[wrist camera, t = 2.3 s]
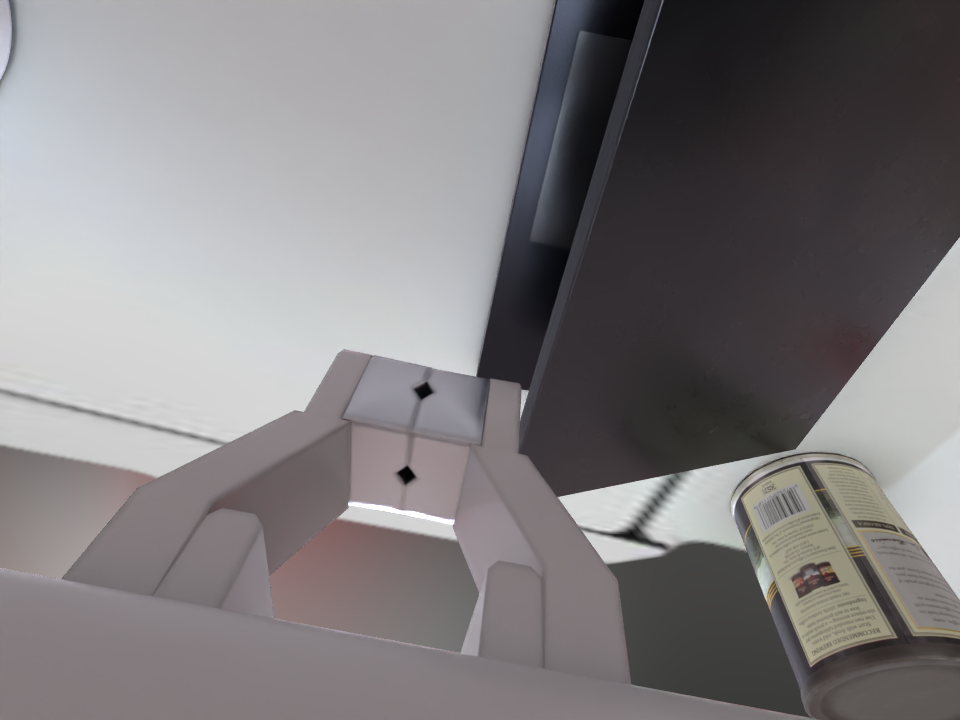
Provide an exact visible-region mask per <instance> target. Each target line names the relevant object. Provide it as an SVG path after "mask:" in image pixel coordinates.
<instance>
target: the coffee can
mask: <svg viewBox="0 0 960 720" xmlns="http://www.w3.org/2000/svg"><path fill="white" fill-rule="evenodd" d="M731 513H732V516H733V519H734V521H735V522H736V524H737V526H738V529H739V532H740V534H741V536H742V539H743V542H744V544H745V547H746V549H747V552H748V554H749V557H750V560H751V562H752V565H753V568H754V570H755V573H756V576H757V578H758V581H759V583H760V586H761V588H762V591H763V593H764V596H765V598H766V601H767V603H768V606H769V609H770V611H771V614H772V617H773V619H774V622H775V625H776V627H777V630H778V633H779V635H780V638H781V640H782V643H783V646H784V649H785V651H786V654H787V656H788V658H789V661H790V664H791V666H792V669H793V671H794V674H795V677H796V679H797V682H798V684H799V687H800V690H801V698H802V702H803V705H804V707H805V710H806V712H807V714H808V715H809V716H810V717H811V718H812V719H818V720H960V600H959V599H958V597H957V596H956V594H955V593H954V592H953V590H952V589H951V587H950V586H949V584H948V583H947V582H946V580H945V579H944V577H943V576H942V575H941V573H940V572H939V570H938V569H937V567H936V566H935V565H934V563H933V562H932V560H931V559H930V558H929V556H928V555H927V553H926V552H925V551H924V549H923V548H922V546H921V545H920V544H919V542H918V541H917V539H916V538H915V536H914V535H913V534H912V532H911V531H910V529H909V528H908V527H907V525H906V524H905V522H904V521H903V519H902V518H901V517H900V515H899V514H898V512H897V511H896V510H895V508H894V507H893V505H892V504H891V503H890V501H889V500H888V498H887V497H886V495H885V494H884V493H883V491H882V490H881V488H880V487H879V486H878V484H877V483H876V481H875V478H874V477H873V475H872V473H871V472H870V471H869V470H868V469H867V468H866V467H865V466H864V465H862V464H861V463H859V462H857V461H855V460H853V459H850V458H847V457H843V456H840V455H834V454H805V455H798V456H792V457H788V458H785V459H781V460H778V461H776V462H774V463H771V464H769V465H767V466H765V467H763V468H761V469H759V470H757V471H756V472H754V473H753V474H751V475H750V476H749V477H748V478H746V479H745V480H744V481H743V482H742V483H741V484H740V486H739V487H738V488H737V489H736V491H735V494H734V495H733V497H732V501H731Z"/></svg>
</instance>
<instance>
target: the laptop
mask: <svg viewBox="0 0 960 720" xmlns="http://www.w3.org/2000/svg"><path fill="white" fill-rule="evenodd" d="M644 1H645V0H554V5H553V10H552V14H551V19H550V24H549V29H548V33H547V38H546V43H545V48H544V53H543V57H542V62H541V67H540V72H539V76H538V81H537V86H536V91H535V95H534V100H533V105H532V110H531V115H530V119H529V124H528V129H527V134H526V138H525V143H524V148H523V153H522V157H521V162H520V167H519V172H518V176H517V181H516V186H515V191H514V196H513V200H512V205H511V210H510V215H509V219H508V224H507V229H506V234H505V238H504V243H503V248H502V253H501V258H500V262H499V267H498V272H497V277H496V281H495V286H494V291H493V296H492V300H491V305H490V310H489V315H488V320H487V324H486V329H485V334H484V339H483V343H482V348H481V353H480V358H479V362H478V368H477V374H476V377H480V378H485V379H497V380H503V381H509V382H515V383H519V384H520V386H521V389H523V390H528V391H529V389H530V386H531V382H532V379H533V376H534V372H535V369H536V365H537V362H538V359H539V355H540V352H541V349H542V345H543V342H544V338H545V335H546V332H547V328H548V325H549V322H550V318H551V315H552V311H553V308H554V305H555V301H556V298H557V295H558V291H559V288H560V284H561V281H562V278H563V274H564V271H565V267H566V264H567V261H568V257H569V254H570V251H571V247H572V244H573V240H574V237H575V234H576V230H577V227H578V224H579V220H580V217H581V213H582V210H583V207H584V203H585V200H586V197H587V193H588V190H589V186H590V183H591V180H592V176H593V173H594V170H595V166H596V163H597V159H598V156H599V153H600V149H601V146H602V143H603V139H604V136H605V132H606V129H607V126H608V122H609V119H610V116H611V112H612V109H613V105H614V102H615V99H616V95H617V92H618V89H619V85H620V82H621V78H622V75H623V72H624V68H625V65H626V62H627V58H628V55H629V51H630V48H631V45H632V41H633V38H634V35H635V31H636V28H637V24H638V21H639V18H640V14H641V11H642V8H643V4H644Z"/></svg>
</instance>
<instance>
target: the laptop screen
mask: <svg viewBox="0 0 960 720" xmlns="http://www.w3.org/2000/svg"><path fill="white" fill-rule="evenodd" d="M959 237H960V0H645V1H644V4H643V8H642V11H641V14H640V18H639V21H638V24H637V28H636V31H635V35H634V38H633V41H632V45H631V48H630V51H629V55H628V58H627V62H626V65H625V68H624V72H623V75H622V78H621V82H620V85H619V89H618V92H617V95H616V99H615V102H614V105H613V109H612V112H611V116H610V119H609V122H608V126H607V129H606V132H605V136H604V139H603V143H602V146H601V149H600V153H599V156H598V159H597V163H596V166H595V170H594V173H593V176H592V180H591V183H590V186H589V190H588V193H587V197H586V200H585V203H584V207H583V210H582V213H581V217H580V220H579V224H578V227H577V230H576V234H575V237H574V240H573V244H572V247H571V251H570V254H569V257H568V261H567V264H566V267H565V271H564V274H563V278H562V281H561V284H560V288H559V291H558V295H557V298H556V301H555V305H554V308H553V311H552V315H551V318H550V322H549V325H548V328H547V332H546V335H545V338H544V342H543V345H542V349H541V352H540V355H539V359H538V362H537V365H536V369H535V372H534V376H533V379H532V382H531V386H530V389H529V392H528V396H527V399H526V403H525V406H524V409H523V413H522V416H521V419H520V426H519V447H518V454H523V455H527V456H528V457H529V458H530V460H531V461H532V463H533V464H534V465H535V467H536V468H537V470H538V471H539V472H540V474H541V475H542V477H543V478H544V479H545V481H546V482H547V484H548V485H549V486H550V488H551V489H552V490H553V492H554V493H555V495H556V496H557V497H560V496H565V495H570V494H575V493H580V492H585V491H590V490H595V489H600V488H605V487H610V486H615V485H620V484H625V483H630V482H635V481H639V480H644V479H649V478H654V477H659V476H664V475H669V474H674V473H679V472H684V471H689V470H694V469H699V468H704V467H709V466H714V465H719V464H724V463H729V462H734V461H739V460H744V459H749V458H754V457H759V456H764V455H769V454H774V453H779V452H784V451H789V450H794V449H796V448H797V446H798V445H799V444H800V443H801V441H802V440H803V439H804V437H805V436H806V435H807V434H808V432H809V431H810V430H811V428H812V427H813V426H814V425H815V423H816V422H817V421H818V419H819V418H820V417H821V415H822V414H823V413H824V412H825V410H826V409H827V408H828V406H829V405H830V404H831V403H832V401H833V400H834V399H835V397H836V396H837V395H838V393H839V392H840V391H841V390H842V388H843V387H844V386H845V384H846V383H847V382H848V381H849V379H850V378H851V377H852V375H853V374H854V373H855V372H856V370H857V369H858V368H859V366H860V365H861V364H862V362H863V361H864V360H865V359H866V357H867V356H868V355H869V353H870V352H871V351H872V350H873V348H874V347H875V346H876V344H877V343H878V342H879V341H880V339H881V338H882V337H883V335H884V334H885V333H886V331H887V330H888V329H889V328H890V326H891V325H892V324H893V322H894V321H895V320H896V319H897V317H898V316H899V315H900V313H901V312H902V311H903V309H904V308H905V307H906V306H907V304H908V303H909V302H910V300H911V299H912V298H913V297H914V295H915V294H916V293H917V291H918V290H919V289H920V288H921V286H922V285H923V284H924V282H925V281H926V280H927V278H928V277H929V276H930V275H931V273H932V272H933V271H934V269H935V268H936V267H937V266H938V264H939V263H940V262H941V260H942V259H943V258H944V257H945V255H946V254H947V253H948V251H949V250H950V249H951V247H952V246H953V245H954V244H955V242H956V241H957V240H958V238H959Z"/></svg>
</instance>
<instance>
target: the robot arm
mask: <svg viewBox="0 0 960 720" xmlns="http://www.w3.org/2000/svg"><path fill="white" fill-rule="evenodd" d="M11 40H12V21H11V11H10V4H9V0H0V79H1V78H2V76H3V74H4V72H5V69H6V66H7V63H8V60H9V55H10V50H11ZM520 405H521V386H520V384H519V383H515V382H509V381H503V380H497V379H485V378H480V377H475V376H470V375H465V374H459V373H454V372H449V371H444V370H438V369H433V368H430V367H426V366H421V365H417V364H412V363H408V362H403V361H398V360H394V359H389V358H385V357H380V356H376V355H374V356H372V355H370V354H365V353H360V352H355V351H350V350H345V349H344V350H342V351H341V352H339V353H338V354H337V356H336V358H335V359H334V361H333V363H332V365H331V366H330V368H329V370H328V371H327V373H326V375H325V377H324V378H323V380H322V382H321V383H320V385H319V387H318V389H317V390H316V392H315V394H314V396H313V397H312V399H311V401H310V402H309V404H308V406H307V408H306V409H305V411H304V412H301V411H295V410H294V411H292V412H290V413H288V414H286V415H284V416H282V417H280V418H278V419H276V420H274V421H272V422H270V423H268V424H266V425H264V426H262V427H260V428H258V429H256V430H254V431H252V432H250V433H248V434H246V435H244V436H242V437H240V438H238V439H236V440H234V441H232V442H230V443H228V444H226V445H224V446H222V447H220V448H217V449H215V450H213V451H211V452H209V453H207V454H205V455H203V456H201V457H199V458H197V459H195V460H193V461H191V462H189V463H187V464H185V465H183V466H181V467H179V468H177V469H175V470H173V471H171V472H169V473H167V474H165V475H163V476H161V477H159V478H157V479H155V480H153V481H151V482H149V483H147V484H145V485H143V486H141V487H139V488H137V489H136V490H135V491H134V492H133V494H132V495H131V496H130V497H129V499H128V500H127V501H126V502H125V503H124V504H123V506H122V507H121V508H120V509H119V510H118V512H117V513H116V514H115V515H114V516H113V518H112V519H111V520H110V521H109V522H108V524H107V525H106V526H105V527H104V528H103V530H102V531H101V532H100V533H99V534H98V536H97V537H96V538H95V539H94V540H93V541H92V543H91V544H90V545H89V546H88V547H87V549H86V550H85V551H84V552H83V554H82V555H81V556H80V557H79V558H78V559H77V561H76V562H75V563H74V564H73V565H72V567H71V568H70V569H69V570H68V571H67V573H66V574H65V575H64V576H63V577H62V579H57V578H52V577H46V576H41V575H35V574H31V573H25V572H20V571H14V570H9V569H3V568H0V720H818V719H812V718H807V717H802V716H796V715H791V714H785V713H780V712H774V711H769V710H763V709H758V708H753V707H748V706H742V705H736V704H732V703H726V702H721V701H715V700H710V699H705V698H698V697H694V696H688V695H683V694H677V693H672V692H667V691H661V690H656V689H650V688H645V687H639V686H635V685H631V680H630V673H629V665H628V657H627V651H626V642H625V634H624V626H623V619H622V611H621V604H620V596H619V589H618V582H617V579H616V578H615V577H614V575H613V574H612V572H611V571H610V570H609V568H608V567H607V566H606V564H605V563H604V561H603V560H602V559H601V557H600V556H599V554H598V553H597V552H596V550H595V549H594V547H593V546H592V545H591V543H590V542H589V540H588V539H587V538H586V536H585V535H584V534H583V532H582V531H581V529H580V528H579V527H578V525H577V524H576V522H575V521H574V520H573V518H572V517H571V515H570V514H569V513H568V511H567V510H566V509H565V507H564V506H563V504H562V503H561V502H560V500H559V499H558V497H557V496H556V495H555V493H554V492H553V490H552V489H551V488H550V486H549V485H548V484H547V482H546V481H545V479H544V478H543V477H542V475H541V474H540V472H539V471H538V470H537V468H536V467H535V465H534V464H533V463H532V461H531V460H530V458H529V457H528V456H527V455H523V454H518V447H519V426H520ZM349 505H354V506H360V507H366V508H372V509H379V510H385V511H391V512H397V513H403V514H407V515H412V516H416V517H421V518H426V519H430V520H435V521H439V522H444V523H448V524H453V529H454V532H455V534H456V536H457V539H458V541H459V544H460V546H461V549H462V551H463V553H464V556H465V558H466V561H467V563H468V566H469V568H470V571H471V573H472V576H473V578H474V580H475V583H476V585H477V588H478V590H479V593H480V595H479V597H478V600H477V604H476V607H475V610H474V613H473V616H472V619H471V622H470V625H469V629H468V631H467V635H466V638H465V641H464V644H463V647H462V650H461V653H457V652H452V651H446V650H441V649H436V648H430V647H425V646H419V645H414V644H409V643H403V642H398V641H393V640H387V639H382V638H376V637H371V636H365V635H360V634H355V633H349V632H344V631H338V630H333V629H327V628H322V627H317V626H311V625H306V624H300V623H295V622H290V621H284V620H279V619H275V617H274V610H273V602H272V595H271V587H270V580H269V576H270V575H271V574H272V573H273V572H274V571H276V570H277V569H278V568H279V567H280V566H281V565H282V564H283V563H285V562H286V561H287V560H288V559H289V558H291V557H292V556H293V555H294V554H295V553H296V552H297V551H299V550H300V549H301V548H302V547H303V546H305V545H306V544H307V543H308V542H309V541H310V540H312V539H313V538H314V537H315V536H316V535H317V534H319V533H320V532H321V531H322V530H323V529H324V528H326V527H327V526H328V525H329V524H330V523H331V522H332V521H334V520H335V519H336V518H337V517H338V516H340V515H341V514H342V513H343V512H344V511H345V510H347V509H348V508H349Z"/></svg>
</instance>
